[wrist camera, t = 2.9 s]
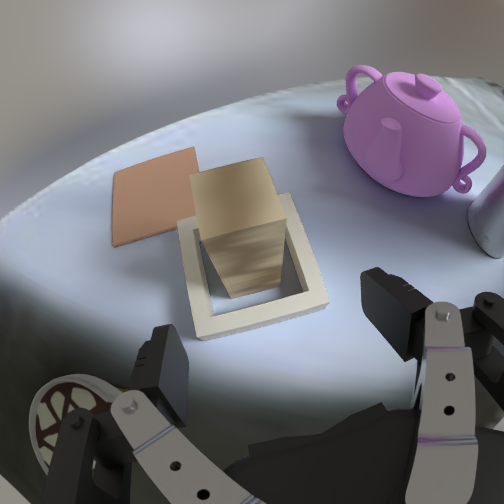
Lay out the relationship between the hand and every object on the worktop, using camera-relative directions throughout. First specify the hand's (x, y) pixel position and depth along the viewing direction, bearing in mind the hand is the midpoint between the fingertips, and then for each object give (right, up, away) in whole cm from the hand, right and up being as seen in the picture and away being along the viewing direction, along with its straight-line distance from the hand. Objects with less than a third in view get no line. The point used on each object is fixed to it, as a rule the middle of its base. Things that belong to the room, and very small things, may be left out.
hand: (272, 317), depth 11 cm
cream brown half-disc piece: (-15, -14, +12) cm, 24 cm away
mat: (-13, +10, +22) cm, 28 cm away
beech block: (-1, +1, +18) cm, 18 cm away
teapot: (+18, +14, +22) cm, 32 cm away
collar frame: (-1, +1, +18) cm, 18 cm away
